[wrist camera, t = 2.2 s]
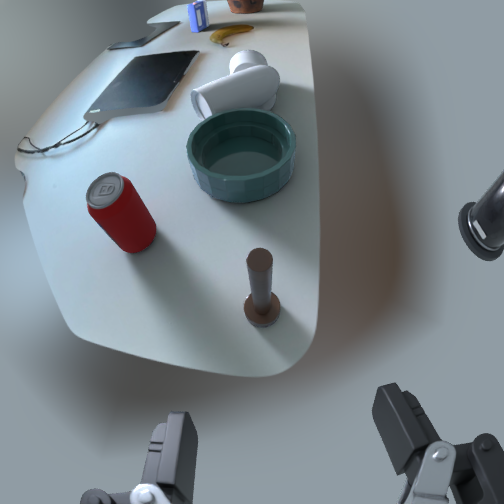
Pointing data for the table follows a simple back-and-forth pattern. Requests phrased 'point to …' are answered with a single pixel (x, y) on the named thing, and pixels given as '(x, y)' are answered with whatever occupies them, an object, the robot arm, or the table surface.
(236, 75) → the elbow connector
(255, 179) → the bowl
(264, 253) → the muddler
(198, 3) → the walkman
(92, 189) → the beverage can
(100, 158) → the table surface
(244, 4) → the brown pot
